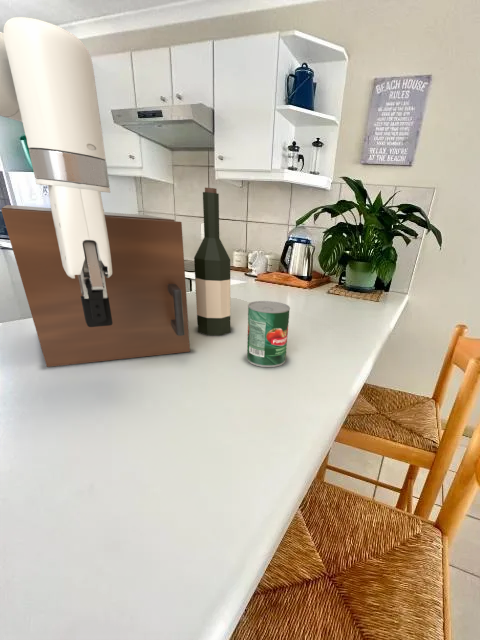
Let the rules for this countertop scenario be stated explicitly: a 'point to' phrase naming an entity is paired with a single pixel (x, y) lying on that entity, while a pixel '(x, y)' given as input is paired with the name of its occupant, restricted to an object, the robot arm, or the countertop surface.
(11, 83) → the robot arm
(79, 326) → the cupboard door
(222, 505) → the countertop surface
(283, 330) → the canned tomato
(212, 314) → the wine bottle
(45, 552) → the countertop surface
